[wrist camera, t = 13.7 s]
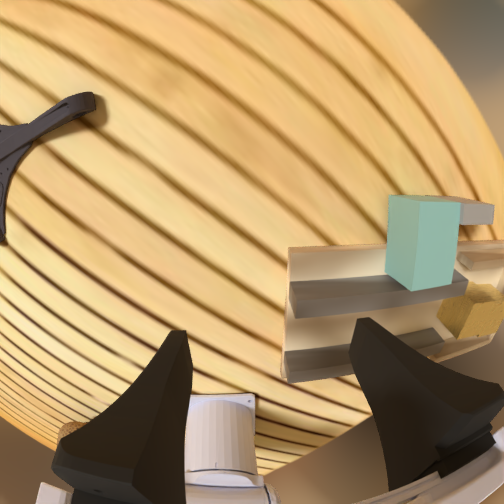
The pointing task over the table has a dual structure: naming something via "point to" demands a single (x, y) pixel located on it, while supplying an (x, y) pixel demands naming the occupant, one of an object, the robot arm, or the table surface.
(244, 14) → the table surface
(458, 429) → the robot arm
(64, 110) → the bracket
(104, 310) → the table surface
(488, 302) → the golden brown cube
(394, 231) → the two-tone l-shaped block
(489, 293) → the yellow cube
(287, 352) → the slot board
